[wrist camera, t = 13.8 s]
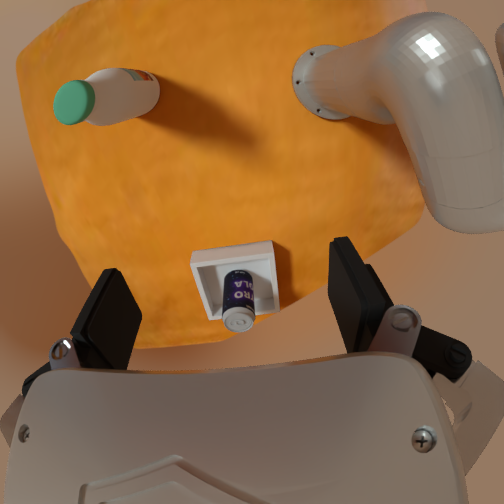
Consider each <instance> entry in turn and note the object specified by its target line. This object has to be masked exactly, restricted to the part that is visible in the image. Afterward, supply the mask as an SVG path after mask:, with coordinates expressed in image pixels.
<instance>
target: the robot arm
mask: <svg viewBox="0 0 504 504" xmlns="http://www.w3.org/2000/svg"><path fill="white" fill-rule="evenodd" d="M495 43H496V48H497V53H498V57H499V60H500V64H501V68H502V71H503V75H504V23H503V24H502V25H501V26H500V27H499V28H498V29H497V31H496V34H495ZM310 53H313V55H310ZM297 81H298V82H299V84H296V82H297ZM292 84H293V88H294V92H295V94H296V96H297V98H298V99H299V101H300V102H301V103H302V105H303V106H304V107H305V108H307V109H308V110H309V111H310V112H312V113H313V114H315V115H318V116H320V117H323V118H326V119H344V118H348V117H350V116H354V117H357V118H360V119H363V120H367V121H370V122H373V123H378V124H395V123H396V125H397V127H398V130H399V132H400V134H401V137H402V139H403V142H404V144H405V146H406V148H407V150H408V153H409V156H410V159H411V161H412V164H413V167H414V170H415V173H416V176H417V179H418V183H419V186H420V188H421V192H422V195H423V198H424V200H425V203H426V206H427V208H428V210H429V212H430V213H431V215H432V216H433V217H434V219H435V220H436V221H437V222H438V223H440V224H441V225H442V226H444V227H446V228H448V229H450V230H453V231H456V232H460V233H467V234H482V233H492V232H498V231H504V97H503V94H502V90H501V86H500V83H499V80H498V77H497V74H496V71H495V69H494V66H493V64H492V62H491V59H490V57H489V55H488V53H487V51H486V50H485V48H484V46H483V44H482V43H481V42H480V40H479V39H478V37H477V36H476V35H475V34H474V32H473V31H472V30H471V29H470V28H469V27H468V26H467V25H465V24H464V23H463V22H461V21H460V20H458V19H457V18H455V17H452V16H450V15H448V14H444V13H439V12H422V13H417V14H412V15H409V16H406V17H404V18H402V19H399V20H397V21H395V22H393V23H392V24H390V25H389V26H387V27H386V28H385V29H383V30H382V31H380V32H379V33H377V34H376V35H374V36H372V37H369V38H367V39H364V40H361V41H358V42H355V43H352V44H349V45H346V46H344V47H338V46H333V45H321V46H317V47H314V48H312V49H310V50H308V51H306V52H305V53H304V54H303V55H302V56H301V57H300V58H299V59H298V60H297V62H296V64H295V66H294V69H293V74H292ZM317 109H319V112H317ZM328 296H329V300H330V303H331V305H332V308H333V311H334V314H335V317H336V320H337V323H338V326H339V329H340V332H341V335H342V338H343V341H344V344H345V347H346V350H347V354H340V355H333V356H327V357H320V358H314V359H307V360H300V361H293V362H285V363H277V364H269V365H260V366H249V367H238V368H225V369H208V370H184V371H183V370H181V371H138V370H136V371H135V370H127V367H128V363H129V359H130V356H131V353H132V349H133V346H134V342H135V339H136V336H137V333H138V329H139V326H140V323H141V320H142V313H141V310H140V309H139V307H138V305H137V303H136V301H135V299H134V297H133V295H132V293H131V291H130V289H129V287H128V285H127V283H126V281H125V279H124V277H123V275H122V273H121V272H120V271H118V270H117V269H116V268H111V269H105V270H104V271H103V272H102V274H101V276H100V277H99V279H98V281H97V282H96V284H95V286H94V288H93V290H92V291H91V293H90V296H89V297H88V299H87V301H86V302H85V304H84V306H83V308H82V310H81V312H80V314H79V316H78V318H77V320H76V322H75V324H74V326H73V328H72V330H71V332H70V334H71V335H72V336H73V338H72V340H71V339H70V338H61V339H59V340H58V341H56V342H55V343H54V344H53V345H52V347H51V349H50V351H49V360H50V361H49V362H48V363H46V364H45V365H44V366H42V367H41V368H40V369H38V370H37V371H36V372H34V373H33V374H32V375H30V376H29V377H28V378H27V379H25V381H24V384H23V387H22V394H23V395H21V394H19V395H18V397H17V398H16V399H15V400H14V402H13V403H12V404H11V405H10V407H9V408H8V409H7V410H6V412H5V413H4V415H3V416H2V418H1V420H0V429H1V431H2V433H3V435H4V437H5V439H6V441H7V443H8V445H9V447H10V453H9V458H8V465H7V471H6V479H5V491H4V504H469V502H468V495H467V488H466V481H465V476H466V474H467V473H468V472H469V470H470V469H471V468H472V466H473V465H474V464H475V462H476V461H477V459H478V458H479V456H480V455H481V453H482V452H483V450H484V449H485V447H486V446H487V444H488V442H489V441H490V439H491V438H492V436H493V434H494V433H495V431H496V429H497V427H498V426H499V424H500V422H501V420H502V418H503V416H504V381H503V380H502V379H501V378H499V377H498V376H497V375H496V374H495V373H493V372H492V371H491V370H490V369H488V368H487V367H486V366H484V365H483V364H482V363H481V362H480V361H477V362H474V361H473V360H472V355H471V351H470V349H469V348H468V347H467V345H465V344H464V343H462V342H461V341H459V340H456V339H453V338H451V337H449V336H446V335H444V334H441V333H439V332H437V331H434V330H432V329H429V328H427V327H424V326H422V325H421V322H422V320H421V317H420V315H419V314H418V312H417V311H416V310H414V309H413V308H411V307H409V306H405V305H395V306H394V304H393V302H392V300H391V299H390V297H389V295H388V293H387V292H386V290H385V288H384V286H383V285H382V283H381V282H380V279H379V278H378V276H377V274H376V273H375V271H374V269H373V268H372V266H371V265H370V264H364V262H363V261H362V259H361V257H360V256H359V254H358V252H357V251H356V249H355V247H354V246H353V244H352V242H351V241H350V239H349V238H348V237H347V236H345V237H338V238H334V241H333V242H330V246H329V275H328ZM441 397H442V398H443V399H444V400H445V401H446V403H445V404H446V405H447V406H448V407H449V408H450V409H451V410H452V411H453V413H454V423H453V425H451V422H450V420H449V416H448V414H447V411H446V409H445V406H444V403H443V401H442V398H441ZM414 432H415V433H414Z"/></svg>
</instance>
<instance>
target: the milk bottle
mask: <svg viewBox="0 0 504 504" xmlns="http://www.w3.org/2000/svg"><path fill="white" fill-rule="evenodd" d="M159 96H160V86H159V83H158V81H157V79H156V78H155V77H154V76H153V75H152V74H151V73H149V72H146V71H141V70H134V69H124V68H108V69H103V70H100V71H98V72H96V73H94V74H92V75H91V76H89V77H88V78H87V79H86V80H74V81H70V82H67V83H66V84H64V85H63V86H62V87H61V88H60V89H59V90H58V92H57V94H56V96H55V99H54V105H53V107H54V113H55V116H56V118H57V119H58V120H59V121H60V122H61V123H63V124H65V125H73V124H77V123H80V122H83V121H87V122H88V123H90V124H93V125H99V126H105V125H112V124H116V123H119V122H122V121H125V120H129V119H132V118H135V117H138V116H141V115H143V114H146V113H147V112H149V111H150V110H151V109H152V108H153V107H154V106H155V105H156V103H157V101H158V99H159Z"/></svg>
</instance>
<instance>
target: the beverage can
mask: <svg viewBox="0 0 504 504" xmlns="http://www.w3.org/2000/svg"><path fill="white" fill-rule="evenodd" d="M222 320H223V322H224V325H225V327H226V328H227V329H228V330H230V331H233V332H245V331H247V330H249V329H250V328H251V327H252V326H253V322H254V320H255V305H254V291H253V279H252V276H251V275H250V274H249V273H248V272H246V271H244V270H233V271H231V272H229V273H228V274H227V275H226V276H225V278H224V288H223V306H222Z"/></svg>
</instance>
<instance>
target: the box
mask: <svg viewBox="0 0 504 504" xmlns="http://www.w3.org/2000/svg"><path fill="white" fill-rule="evenodd" d="M190 266H191V269H192V272H193V275H194V278H195V281H196V284H197V287H198V290H199V293H200V295H201V298H202V301H203V304H204V307H205V310H206V313H207V315H208V318H209V320H216V319H222V306H223V288H224V278H225V276H226V275H227V274H228V273H229V272H231V271H233V270H244V271H246V272H248V273H249V274H250V275H251V276H252V279H253V291H254V305H255V315H261V314H269V313H276V312H280V305H279V295H278V285H277V276H276V266H275V257H274V250H273V245H272V240H270V241H263V242H255V243H248V244H241V245H233V246H226V247H219V248H212V249H205V250H198V251H193V253H192V257H191V261H190Z"/></svg>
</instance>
